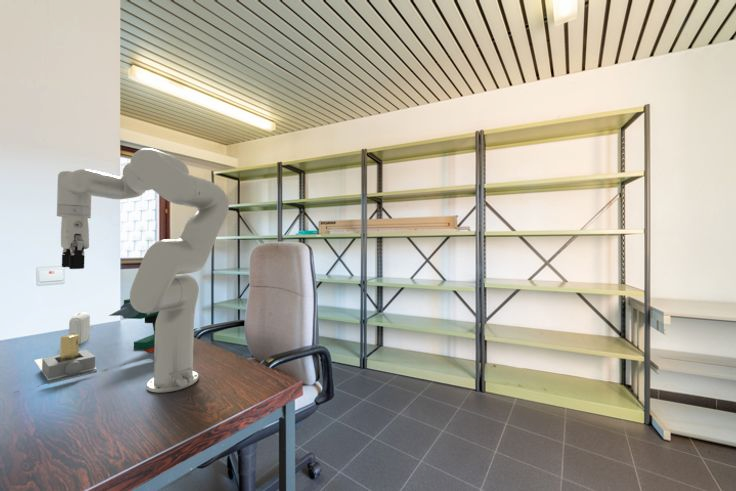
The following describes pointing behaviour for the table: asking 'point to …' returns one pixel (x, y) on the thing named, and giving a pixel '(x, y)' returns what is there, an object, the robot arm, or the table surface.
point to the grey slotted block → (66, 366)
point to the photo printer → (80, 326)
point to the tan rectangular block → (69, 347)
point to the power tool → (131, 313)
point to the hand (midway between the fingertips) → (72, 267)
